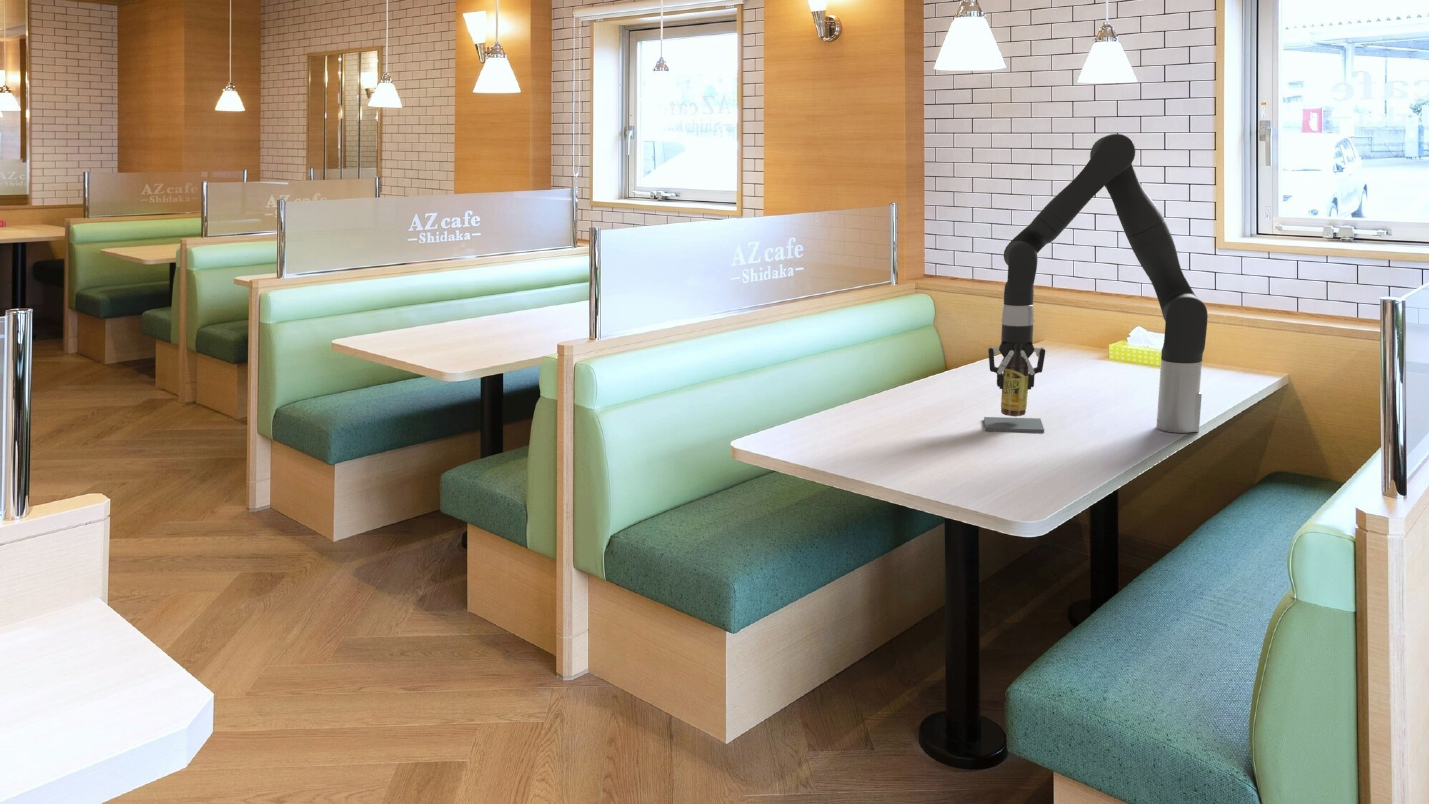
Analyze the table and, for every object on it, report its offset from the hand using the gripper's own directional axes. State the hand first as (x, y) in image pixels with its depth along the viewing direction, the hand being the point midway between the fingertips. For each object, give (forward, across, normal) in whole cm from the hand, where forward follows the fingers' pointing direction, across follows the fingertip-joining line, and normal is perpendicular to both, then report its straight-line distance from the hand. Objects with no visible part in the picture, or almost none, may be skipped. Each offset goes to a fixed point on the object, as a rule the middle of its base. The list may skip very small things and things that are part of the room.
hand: (1014, 388), depth 274 cm
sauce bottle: (+7, 0, 0) cm, 7 cm away
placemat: (+10, 0, 0) cm, 10 cm away
